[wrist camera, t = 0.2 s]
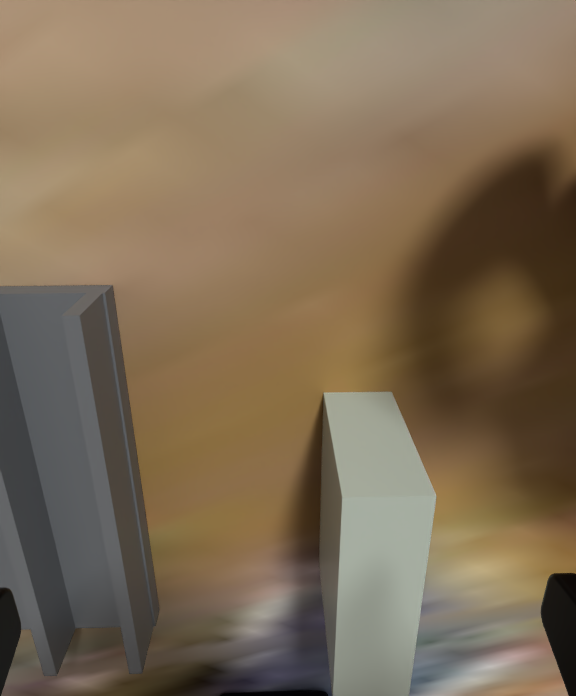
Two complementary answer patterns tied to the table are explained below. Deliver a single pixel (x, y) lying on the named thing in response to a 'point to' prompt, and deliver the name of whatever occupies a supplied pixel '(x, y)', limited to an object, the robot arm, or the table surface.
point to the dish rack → (71, 473)
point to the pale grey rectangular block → (371, 543)
